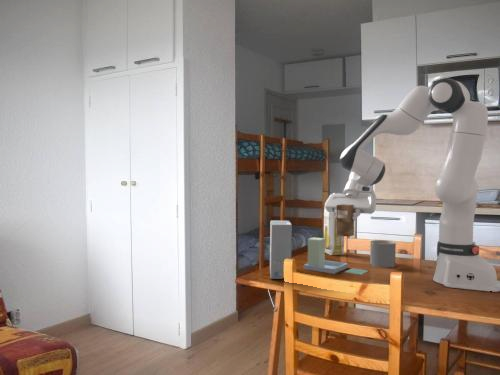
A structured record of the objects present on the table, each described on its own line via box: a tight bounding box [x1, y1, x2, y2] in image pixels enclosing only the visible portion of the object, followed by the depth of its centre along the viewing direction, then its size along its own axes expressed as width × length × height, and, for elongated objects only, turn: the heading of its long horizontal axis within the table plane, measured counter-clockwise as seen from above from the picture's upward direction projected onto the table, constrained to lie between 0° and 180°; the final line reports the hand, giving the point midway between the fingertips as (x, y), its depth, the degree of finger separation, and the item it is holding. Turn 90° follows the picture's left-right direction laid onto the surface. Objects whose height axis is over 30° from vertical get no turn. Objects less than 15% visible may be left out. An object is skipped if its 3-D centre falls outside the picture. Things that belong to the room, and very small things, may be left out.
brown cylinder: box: [337, 204, 355, 238], centre depth 174 cm, size 5×5×12 cm
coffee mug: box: [369, 239, 397, 268], centre depth 185 cm, size 13×10×10 cm
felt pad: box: [344, 267, 369, 276], centre depth 172 cm, size 7×8×1 cm
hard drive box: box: [269, 220, 293, 280], centre depth 168 cm, size 16×8×20 cm, turn 179°
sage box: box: [307, 236, 326, 267], centre depth 176 cm, size 5×5×12 cm
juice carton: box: [323, 207, 345, 256], centre depth 209 cm, size 9×8×24 cm
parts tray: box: [303, 259, 349, 275], centre depth 177 cm, size 13×13×2 cm
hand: (344, 219), depth 174 cm, fingers closed on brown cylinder, 5 cm apart
